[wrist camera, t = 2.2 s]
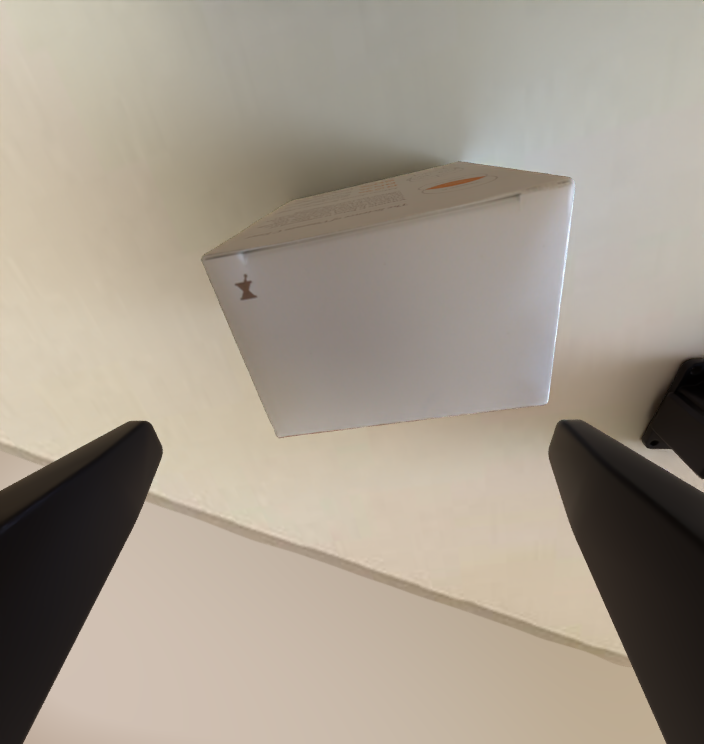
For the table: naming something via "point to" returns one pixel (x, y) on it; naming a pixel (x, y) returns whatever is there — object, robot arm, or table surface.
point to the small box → (400, 297)
